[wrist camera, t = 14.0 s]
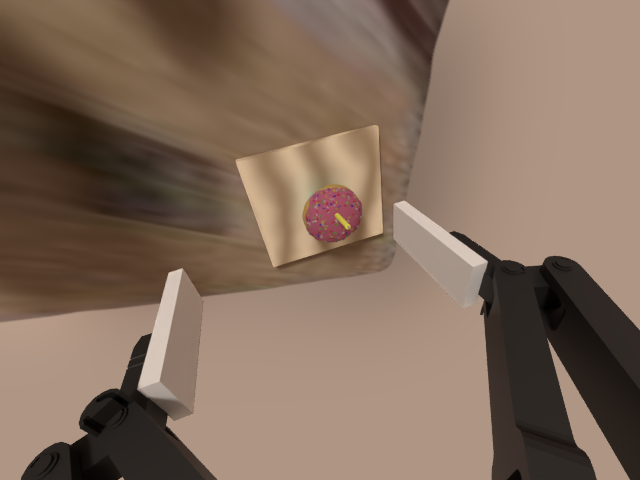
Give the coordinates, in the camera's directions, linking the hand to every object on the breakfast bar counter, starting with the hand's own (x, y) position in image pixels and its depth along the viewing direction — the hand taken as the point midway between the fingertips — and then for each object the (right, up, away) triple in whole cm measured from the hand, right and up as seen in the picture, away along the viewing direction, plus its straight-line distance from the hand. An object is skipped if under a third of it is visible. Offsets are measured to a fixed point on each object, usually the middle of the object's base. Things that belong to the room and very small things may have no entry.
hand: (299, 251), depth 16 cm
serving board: (+1, +7, +25) cm, 26 cm away
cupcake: (+2, +7, +24) cm, 25 cm away
